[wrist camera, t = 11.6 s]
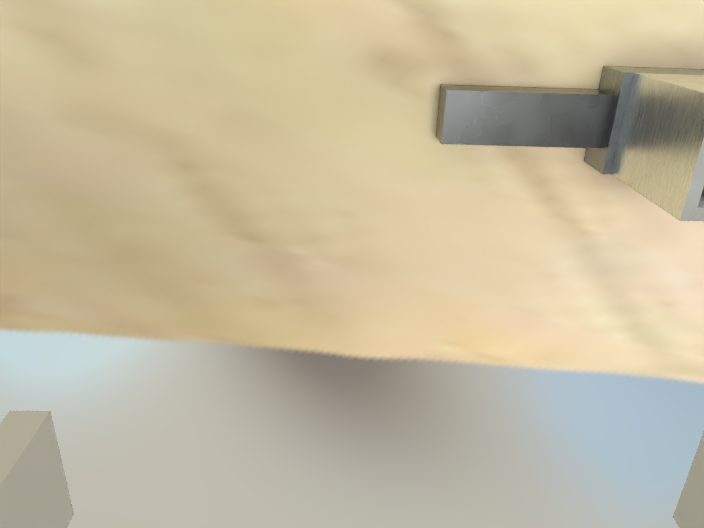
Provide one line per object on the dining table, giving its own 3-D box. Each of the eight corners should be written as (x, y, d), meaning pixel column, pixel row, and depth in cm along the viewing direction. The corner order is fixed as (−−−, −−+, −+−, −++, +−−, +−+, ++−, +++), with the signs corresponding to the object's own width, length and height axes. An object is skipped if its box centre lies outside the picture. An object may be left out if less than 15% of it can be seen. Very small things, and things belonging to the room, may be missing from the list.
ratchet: (433, 156, 39) (456, 195, 32) (443, 60, 36) (470, 79, 29) (687, 163, 39) (766, 203, 32) (713, 69, 37) (806, 89, 30)
